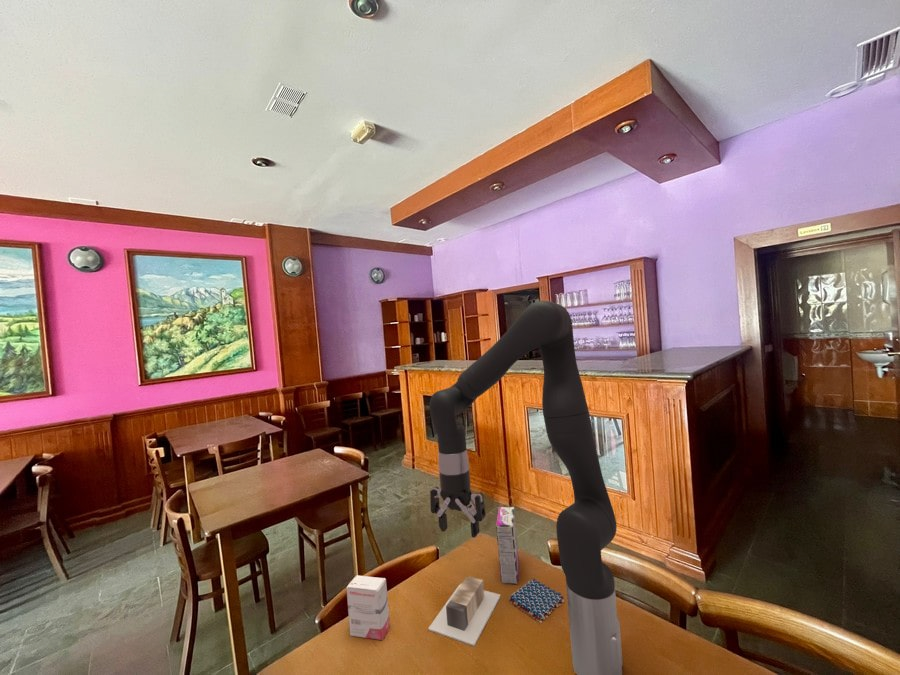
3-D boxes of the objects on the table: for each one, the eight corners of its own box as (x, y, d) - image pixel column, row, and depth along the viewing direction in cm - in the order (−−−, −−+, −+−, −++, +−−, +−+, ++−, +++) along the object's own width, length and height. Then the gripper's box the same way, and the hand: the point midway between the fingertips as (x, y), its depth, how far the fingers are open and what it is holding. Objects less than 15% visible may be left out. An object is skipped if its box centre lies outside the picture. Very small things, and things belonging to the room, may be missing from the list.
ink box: (391, 625, 89) (387, 577, 89) (382, 641, 85) (378, 590, 85) (359, 620, 92) (356, 573, 92) (349, 636, 87) (345, 586, 87)
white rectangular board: (500, 596, 96) (500, 594, 96) (474, 646, 81) (474, 644, 81) (460, 585, 102) (460, 583, 102) (428, 630, 87) (428, 628, 87)
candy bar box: (502, 559, 112) (498, 506, 112) (519, 560, 111) (514, 506, 111) (500, 584, 101) (495, 524, 101) (518, 585, 100) (513, 525, 100)
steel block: (483, 580, 96) (462, 611, 85) (484, 597, 96) (464, 631, 85) (467, 575, 98) (445, 606, 87) (468, 592, 98) (447, 625, 87)
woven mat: (507, 603, 94) (506, 596, 94) (532, 584, 101) (532, 576, 101) (540, 626, 86) (539, 618, 86) (566, 603, 93) (565, 595, 93)
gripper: (486, 465, 91) (491, 530, 91) (436, 460, 98) (441, 521, 98) (473, 476, 85) (479, 546, 85) (421, 470, 91) (427, 535, 91)
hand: (459, 532), depth 91 cm, fingers open, 8 cm apart
